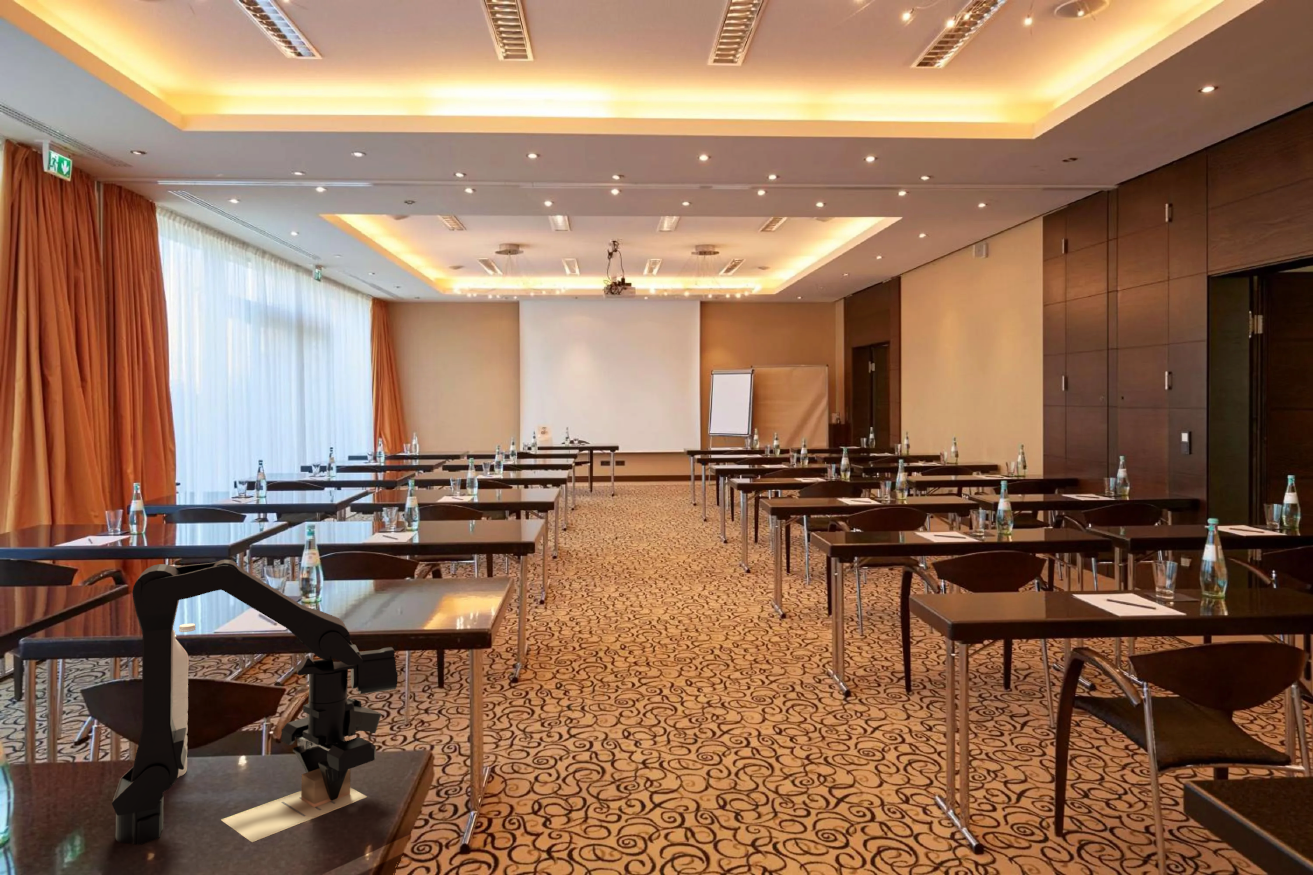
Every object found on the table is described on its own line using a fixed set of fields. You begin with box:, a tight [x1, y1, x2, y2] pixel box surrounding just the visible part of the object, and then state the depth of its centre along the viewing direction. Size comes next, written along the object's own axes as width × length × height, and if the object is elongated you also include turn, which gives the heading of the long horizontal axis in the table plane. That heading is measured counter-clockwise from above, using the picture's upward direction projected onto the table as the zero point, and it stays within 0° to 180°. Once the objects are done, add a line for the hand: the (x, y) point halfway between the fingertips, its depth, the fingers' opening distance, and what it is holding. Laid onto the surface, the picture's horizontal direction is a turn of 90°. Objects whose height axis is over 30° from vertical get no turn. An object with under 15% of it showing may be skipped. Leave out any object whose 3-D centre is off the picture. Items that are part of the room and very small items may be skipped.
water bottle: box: [172, 623, 196, 779], centre depth 135 cm, size 9×6×25 cm
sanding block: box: [300, 768, 352, 807], centre depth 124 cm, size 4×6×4 cm, turn 142°
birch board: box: [220, 787, 368, 843], centre depth 120 cm, size 10×18×2 cm, turn 142°
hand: (326, 795), depth 124 cm, fingers closed on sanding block, 4 cm apart
